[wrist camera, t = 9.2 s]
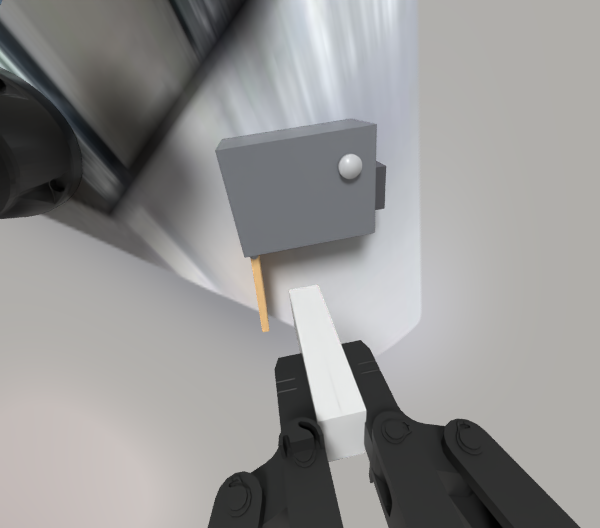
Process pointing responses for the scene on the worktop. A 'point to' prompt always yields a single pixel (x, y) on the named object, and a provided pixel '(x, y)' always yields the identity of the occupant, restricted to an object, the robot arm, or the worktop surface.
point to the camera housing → (303, 184)
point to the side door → (260, 291)
